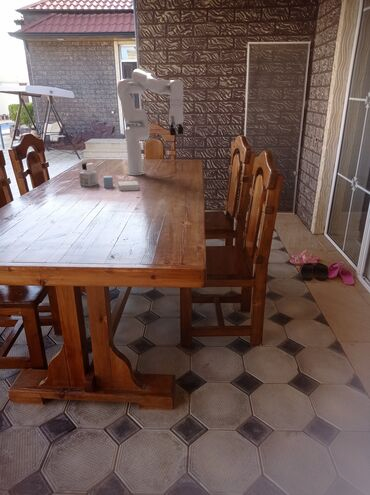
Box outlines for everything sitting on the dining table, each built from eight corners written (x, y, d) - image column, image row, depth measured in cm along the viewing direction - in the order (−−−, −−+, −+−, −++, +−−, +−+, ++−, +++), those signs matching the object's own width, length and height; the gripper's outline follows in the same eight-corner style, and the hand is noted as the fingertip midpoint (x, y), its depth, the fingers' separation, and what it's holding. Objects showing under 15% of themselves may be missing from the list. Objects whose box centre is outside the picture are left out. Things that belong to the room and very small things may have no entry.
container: (80, 185, 223) (77, 163, 218) (88, 182, 229) (86, 161, 225) (90, 186, 220) (88, 164, 215) (98, 184, 226) (96, 162, 221)
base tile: (118, 186, 220) (117, 181, 218) (136, 185, 222) (136, 180, 221) (119, 190, 210) (119, 185, 209) (139, 189, 212) (138, 184, 211)
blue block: (104, 186, 221) (103, 176, 219) (112, 185, 223) (111, 175, 220) (104, 187, 217) (103, 177, 215) (113, 187, 218) (112, 177, 216)
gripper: (177, 103, 222) (178, 133, 228) (163, 103, 207) (163, 135, 214) (189, 103, 218) (188, 133, 225) (175, 103, 204) (175, 136, 211)
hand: (176, 134), depth 219 cm, fingers open, 9 cm apart
